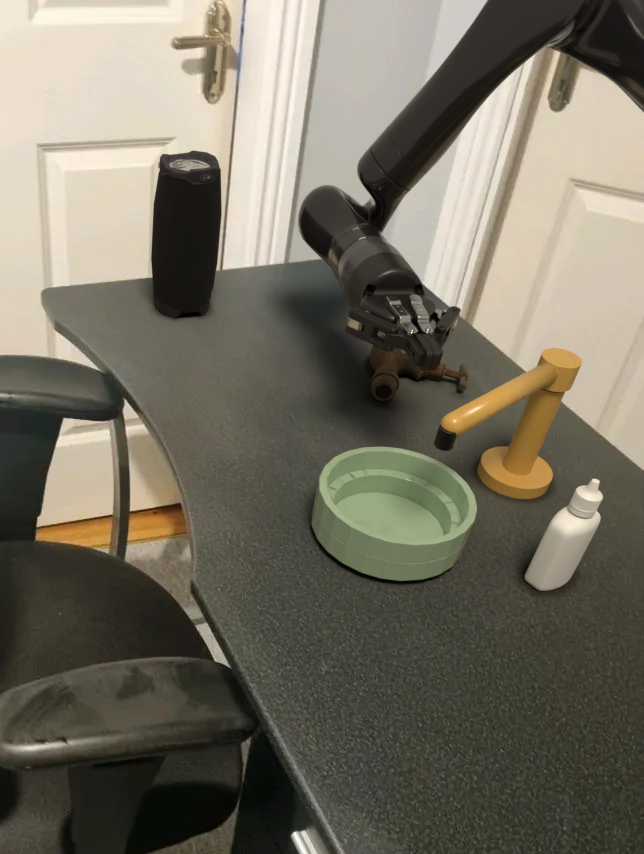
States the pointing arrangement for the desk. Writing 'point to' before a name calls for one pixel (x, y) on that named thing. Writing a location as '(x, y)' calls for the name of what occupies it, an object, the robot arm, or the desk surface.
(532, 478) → the tap base
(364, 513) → the basin
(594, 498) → the eye dropper bottle
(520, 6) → the robot arm
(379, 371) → the faucet
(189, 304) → the portable speaker
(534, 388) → the spout
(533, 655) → the desk surface
